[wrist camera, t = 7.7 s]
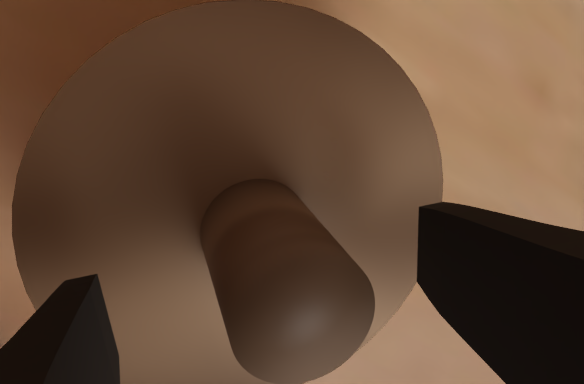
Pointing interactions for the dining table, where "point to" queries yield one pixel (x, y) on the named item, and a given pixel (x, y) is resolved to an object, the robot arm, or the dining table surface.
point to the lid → (231, 192)
